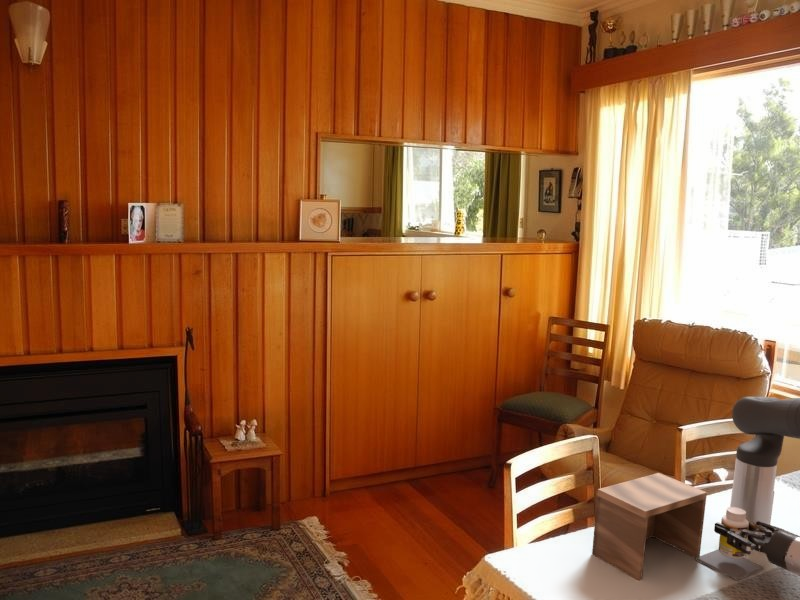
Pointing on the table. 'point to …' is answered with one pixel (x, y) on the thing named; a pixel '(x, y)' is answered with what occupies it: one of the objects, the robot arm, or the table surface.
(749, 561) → the mat
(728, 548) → the supplement bottle
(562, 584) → the table surface
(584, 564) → the table surface
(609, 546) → the cubby
